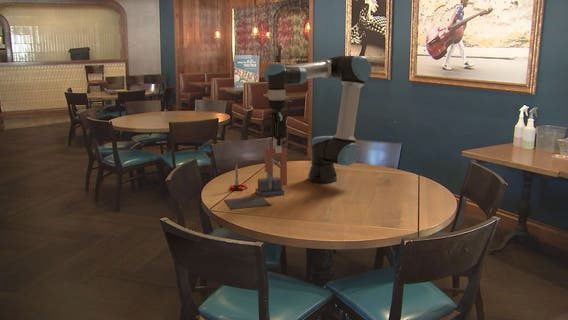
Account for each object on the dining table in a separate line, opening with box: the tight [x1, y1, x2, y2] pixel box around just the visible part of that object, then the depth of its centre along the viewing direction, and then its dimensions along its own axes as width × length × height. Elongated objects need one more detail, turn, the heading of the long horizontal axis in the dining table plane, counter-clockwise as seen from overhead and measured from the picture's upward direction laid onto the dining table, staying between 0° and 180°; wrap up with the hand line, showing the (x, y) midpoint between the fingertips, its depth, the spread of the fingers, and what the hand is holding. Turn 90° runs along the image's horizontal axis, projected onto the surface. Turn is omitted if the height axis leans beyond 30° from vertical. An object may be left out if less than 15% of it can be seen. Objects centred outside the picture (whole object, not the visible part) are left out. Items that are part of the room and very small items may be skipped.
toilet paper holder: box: [254, 156, 285, 198], centre depth 226 cm, size 12×20×18 cm, turn 18°
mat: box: [223, 195, 272, 211], centre depth 219 cm, size 18×14×1 cm
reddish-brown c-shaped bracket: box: [264, 147, 288, 187], centre depth 220 cm, size 10×2×17 cm, turn 108°
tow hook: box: [229, 164, 248, 192], centre depth 242 cm, size 8×13×9 cm
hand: (277, 152), depth 218 cm, fingers closed on reddish-brown c-shaped bracket, 2 cm apart
